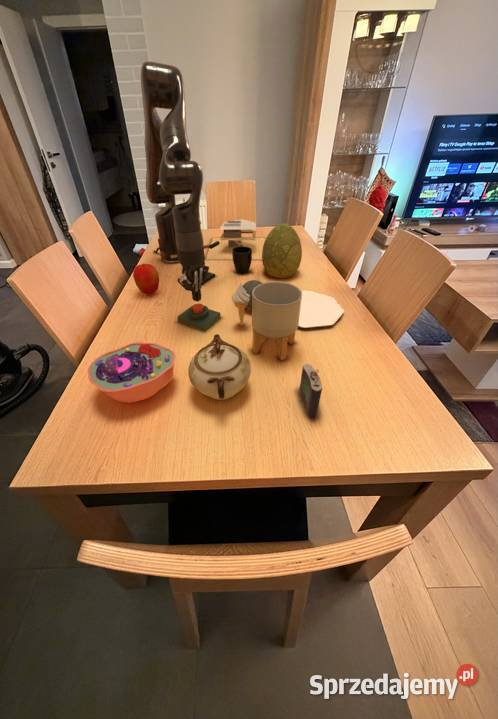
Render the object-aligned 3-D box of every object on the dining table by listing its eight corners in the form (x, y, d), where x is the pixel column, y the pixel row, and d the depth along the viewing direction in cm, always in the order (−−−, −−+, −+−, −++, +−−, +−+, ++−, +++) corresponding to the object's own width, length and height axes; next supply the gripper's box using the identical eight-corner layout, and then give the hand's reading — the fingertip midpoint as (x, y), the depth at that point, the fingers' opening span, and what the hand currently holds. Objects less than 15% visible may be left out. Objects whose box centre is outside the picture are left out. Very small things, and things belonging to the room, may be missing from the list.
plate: (292, 289, 117) (293, 285, 116) (351, 306, 107) (352, 303, 106) (259, 315, 102) (259, 311, 101) (323, 338, 92) (323, 334, 91)
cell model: (184, 403, 72) (177, 368, 65) (95, 422, 68) (77, 387, 60) (176, 360, 84) (169, 326, 77) (101, 373, 80) (86, 339, 73)
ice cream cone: (252, 322, 99) (252, 280, 89) (246, 331, 95) (246, 288, 85) (236, 319, 100) (235, 277, 91) (230, 328, 96) (228, 285, 87)
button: (190, 311, 97) (190, 307, 96) (197, 307, 100) (196, 302, 99) (199, 314, 96) (199, 310, 95) (206, 309, 98) (205, 305, 97)
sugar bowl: (256, 415, 69) (256, 367, 59) (190, 422, 68) (180, 374, 58) (246, 360, 84) (245, 315, 74) (192, 365, 83) (184, 319, 73)
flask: (297, 390, 75) (302, 357, 68) (308, 389, 76) (314, 356, 69) (307, 419, 68) (314, 386, 61) (320, 417, 69) (328, 384, 62)
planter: (245, 339, 92) (244, 286, 80) (283, 330, 95) (287, 278, 84) (262, 365, 83) (264, 309, 71) (303, 354, 86) (311, 299, 75)
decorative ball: (272, 311, 104) (274, 285, 98) (246, 317, 101) (246, 290, 95) (260, 298, 111) (261, 273, 105) (235, 304, 108) (234, 278, 102)
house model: (269, 259, 140) (270, 232, 132) (205, 259, 140) (203, 232, 132) (267, 238, 162) (268, 214, 155) (212, 238, 163) (210, 213, 155)
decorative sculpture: (271, 262, 137) (273, 216, 124) (305, 269, 131) (311, 221, 118) (254, 276, 126) (255, 226, 113) (291, 284, 120) (296, 233, 107)
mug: (251, 264, 136) (252, 243, 130) (251, 275, 126) (252, 253, 120) (233, 264, 136) (233, 242, 130) (232, 275, 127) (231, 253, 120)
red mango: (153, 300, 110) (146, 269, 103) (132, 297, 113) (124, 266, 105) (166, 289, 117) (160, 259, 109) (146, 286, 119) (139, 256, 111)
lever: (220, 245, 113) (218, 239, 112) (213, 250, 110) (210, 243, 109) (197, 250, 120) (195, 244, 119) (189, 254, 117) (187, 248, 116)
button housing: (178, 322, 99) (176, 311, 97) (194, 309, 105) (193, 299, 103) (205, 331, 95) (203, 320, 93) (220, 318, 101) (220, 307, 99)
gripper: (193, 236, 90) (200, 289, 101) (164, 250, 81) (174, 306, 92) (214, 240, 87) (218, 294, 98) (185, 255, 78) (193, 312, 90)
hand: (197, 300), depth 95 cm, fingers closed
